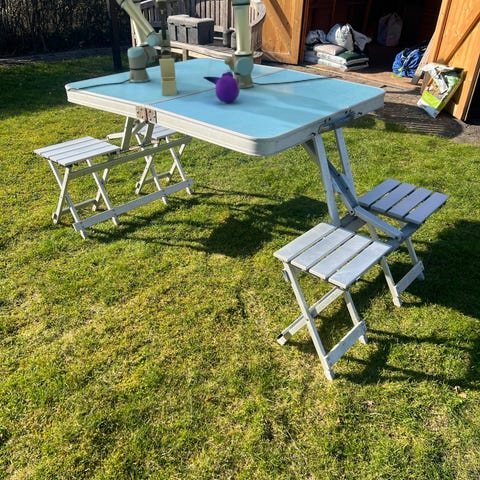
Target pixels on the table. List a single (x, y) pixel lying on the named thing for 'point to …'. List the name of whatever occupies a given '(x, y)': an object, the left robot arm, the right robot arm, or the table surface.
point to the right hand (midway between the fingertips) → (164, 38)
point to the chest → (169, 86)
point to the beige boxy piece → (167, 66)
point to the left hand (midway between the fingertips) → (166, 59)
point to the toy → (225, 87)
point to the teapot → (230, 62)
